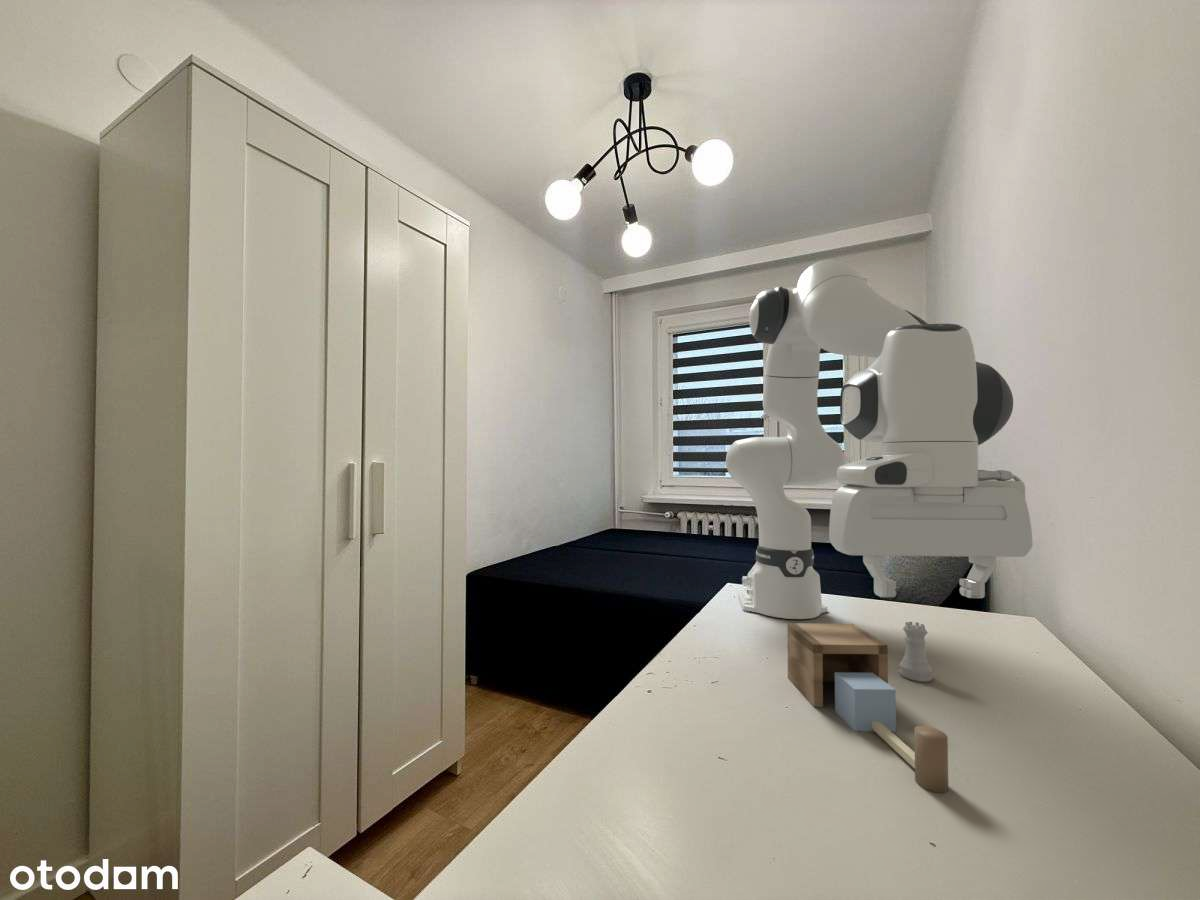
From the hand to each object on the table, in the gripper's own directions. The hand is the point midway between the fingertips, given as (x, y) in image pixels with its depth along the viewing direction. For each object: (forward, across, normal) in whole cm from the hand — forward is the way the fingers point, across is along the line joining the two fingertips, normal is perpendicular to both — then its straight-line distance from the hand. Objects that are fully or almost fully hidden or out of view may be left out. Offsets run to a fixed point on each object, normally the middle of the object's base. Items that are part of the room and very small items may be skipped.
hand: (928, 596), depth 54 cm
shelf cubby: (+18, +2, -16) cm, 24 cm away
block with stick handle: (+18, +2, -3) cm, 18 cm away
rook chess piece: (+18, -12, -22) cm, 32 cm away
